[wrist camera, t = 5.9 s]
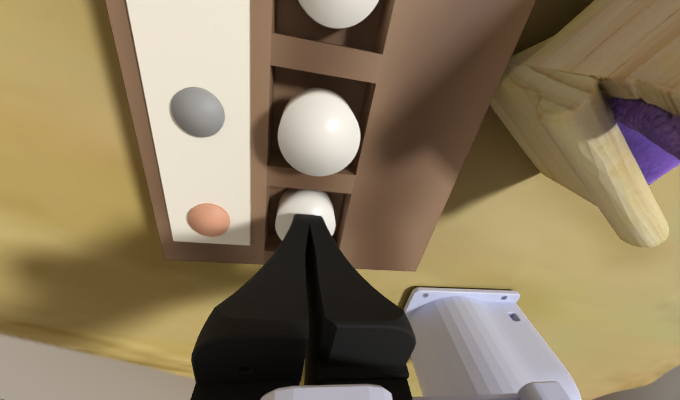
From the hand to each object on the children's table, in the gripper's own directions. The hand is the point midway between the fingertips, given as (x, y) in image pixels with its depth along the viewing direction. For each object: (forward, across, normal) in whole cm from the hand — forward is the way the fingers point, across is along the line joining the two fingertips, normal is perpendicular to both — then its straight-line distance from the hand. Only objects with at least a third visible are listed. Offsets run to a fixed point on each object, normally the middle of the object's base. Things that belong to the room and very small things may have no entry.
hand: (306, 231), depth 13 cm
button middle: (+1, 0, -5) cm, 5 cm away
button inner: (+2, 0, 0) cm, 2 cm away
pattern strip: (+1, +5, -5) cm, 7 cm away
